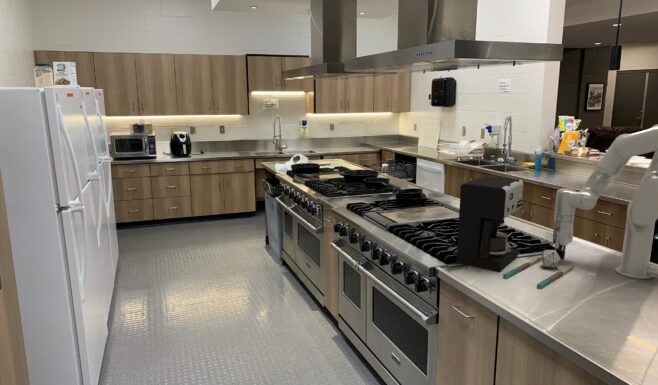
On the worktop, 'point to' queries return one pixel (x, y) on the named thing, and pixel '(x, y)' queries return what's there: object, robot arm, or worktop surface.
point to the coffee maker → (487, 221)
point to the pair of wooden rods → (544, 282)
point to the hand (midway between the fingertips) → (559, 258)
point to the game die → (550, 258)
